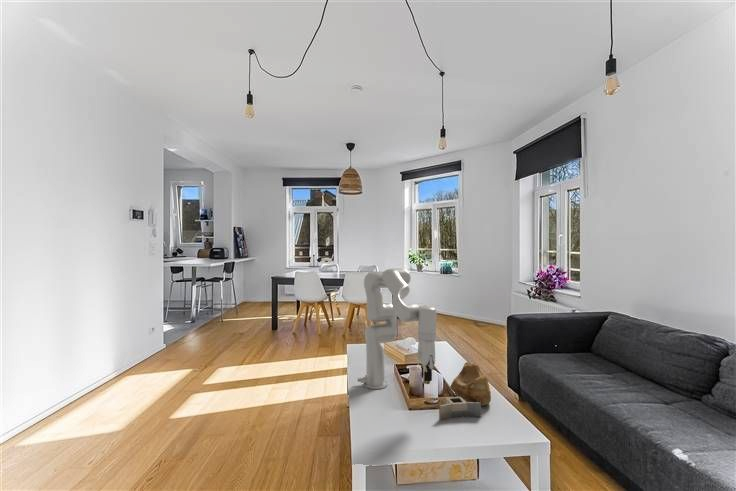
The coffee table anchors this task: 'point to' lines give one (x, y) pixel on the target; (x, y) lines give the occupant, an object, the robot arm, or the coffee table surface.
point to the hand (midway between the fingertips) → (426, 378)
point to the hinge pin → (423, 376)
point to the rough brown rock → (472, 385)
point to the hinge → (459, 409)
